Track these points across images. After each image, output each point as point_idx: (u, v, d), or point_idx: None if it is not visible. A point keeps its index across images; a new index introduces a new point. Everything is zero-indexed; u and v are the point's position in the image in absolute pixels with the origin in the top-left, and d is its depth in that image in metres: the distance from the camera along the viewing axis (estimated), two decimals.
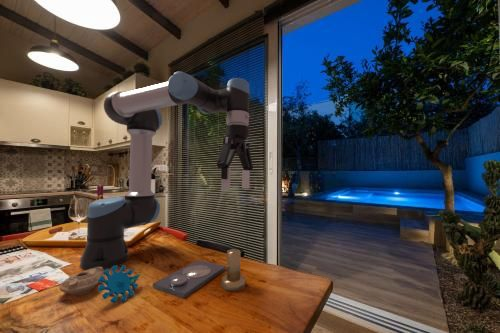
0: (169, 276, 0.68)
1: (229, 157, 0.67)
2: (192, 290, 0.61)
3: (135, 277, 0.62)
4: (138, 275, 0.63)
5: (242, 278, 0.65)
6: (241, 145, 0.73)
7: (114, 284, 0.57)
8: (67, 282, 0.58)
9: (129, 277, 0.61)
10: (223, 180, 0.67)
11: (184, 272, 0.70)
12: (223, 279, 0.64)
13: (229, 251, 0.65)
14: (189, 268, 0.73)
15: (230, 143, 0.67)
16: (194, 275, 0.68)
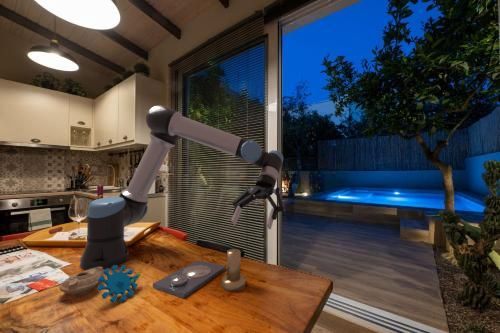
0: (169, 276, 0.68)
1: None
2: (192, 290, 0.61)
3: (135, 277, 0.62)
4: (138, 275, 0.63)
5: (242, 278, 0.65)
6: None
7: (114, 284, 0.57)
8: (67, 282, 0.58)
9: (129, 277, 0.61)
10: (271, 218, 0.73)
11: (184, 272, 0.70)
12: (223, 279, 0.64)
13: (229, 251, 0.65)
14: (189, 268, 0.73)
15: None
16: (194, 275, 0.68)
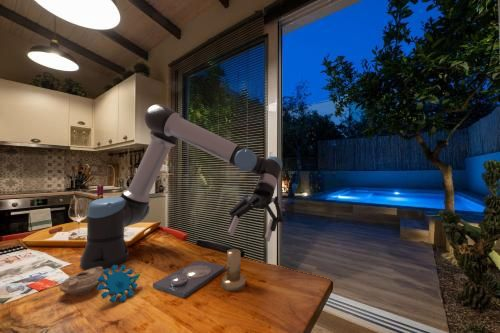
0: (169, 276, 0.68)
1: None
2: (192, 290, 0.61)
3: (135, 277, 0.62)
4: (138, 275, 0.63)
5: (242, 278, 0.65)
6: None
7: (113, 284, 0.57)
8: (67, 282, 0.58)
9: (129, 277, 0.61)
10: (270, 230, 0.70)
11: (184, 272, 0.70)
12: (223, 279, 0.64)
13: (229, 251, 0.65)
14: (189, 268, 0.73)
15: None
16: (194, 275, 0.68)
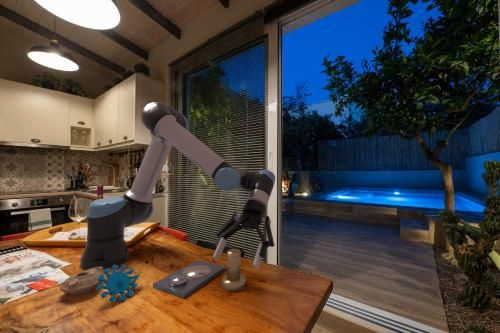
0: (169, 276, 0.68)
1: None
2: (192, 290, 0.61)
3: (135, 277, 0.62)
4: (138, 275, 0.63)
5: (242, 278, 0.65)
6: None
7: (113, 283, 0.57)
8: (67, 282, 0.58)
9: (129, 277, 0.61)
10: (258, 256, 0.63)
11: (184, 272, 0.70)
12: (223, 279, 0.64)
13: (229, 251, 0.65)
14: (189, 268, 0.73)
15: None
16: (194, 275, 0.68)
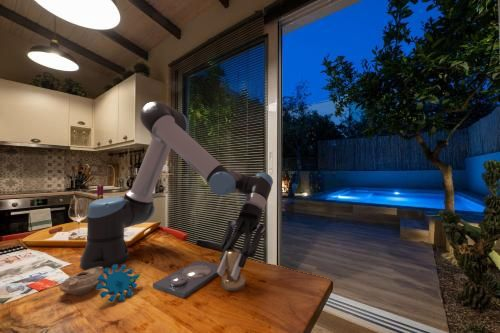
0: (169, 276, 0.68)
1: (249, 245, 0.67)
2: (192, 290, 0.61)
3: (135, 277, 0.62)
4: (138, 275, 0.63)
5: (242, 278, 0.65)
6: None
7: (113, 283, 0.57)
8: (68, 282, 0.58)
9: (128, 276, 0.61)
10: (237, 266, 0.62)
11: (184, 272, 0.70)
12: (223, 279, 0.64)
13: (229, 251, 0.65)
14: (189, 268, 0.73)
15: None
16: (194, 275, 0.68)
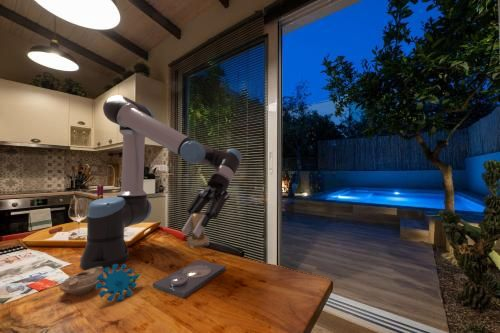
0: (169, 276, 0.68)
1: None
2: (192, 290, 0.61)
3: (134, 276, 0.62)
4: (138, 275, 0.63)
5: (205, 238, 0.71)
6: None
7: (112, 283, 0.58)
8: (68, 282, 0.58)
9: (128, 276, 0.61)
10: (200, 225, 0.69)
11: (184, 272, 0.70)
12: (188, 238, 0.71)
13: (194, 213, 0.72)
14: (189, 268, 0.73)
15: None
16: (194, 275, 0.68)
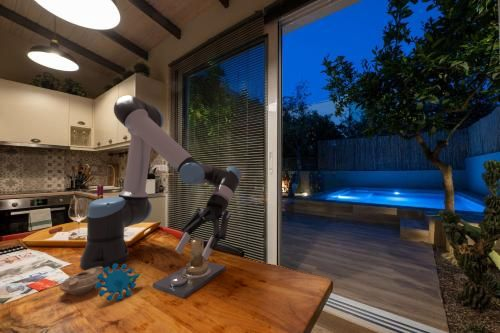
0: (169, 276, 0.68)
1: (218, 229, 0.74)
2: (192, 290, 0.61)
3: (134, 276, 0.63)
4: (138, 274, 0.63)
5: (204, 264, 0.71)
6: None
7: (112, 282, 0.58)
8: (68, 282, 0.58)
9: (128, 276, 0.62)
10: (208, 248, 0.68)
11: (184, 272, 0.70)
12: (187, 265, 0.71)
13: (193, 239, 0.71)
14: None
15: None
16: None
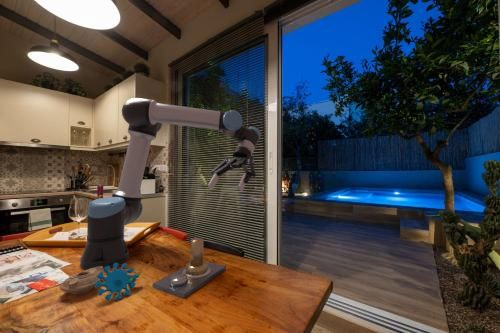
0: (169, 276, 0.68)
1: None
2: (192, 290, 0.61)
3: (134, 276, 0.63)
4: (138, 274, 0.64)
5: (204, 264, 0.71)
6: None
7: (111, 281, 0.58)
8: (68, 282, 0.58)
9: (128, 276, 0.62)
10: (243, 181, 0.81)
11: (184, 272, 0.70)
12: (187, 265, 0.71)
13: (193, 239, 0.71)
14: None
15: None
16: None
